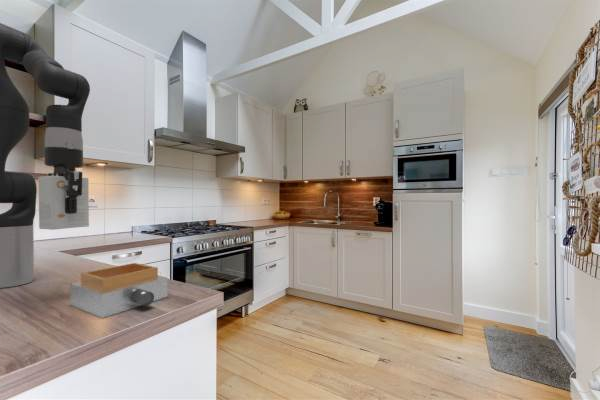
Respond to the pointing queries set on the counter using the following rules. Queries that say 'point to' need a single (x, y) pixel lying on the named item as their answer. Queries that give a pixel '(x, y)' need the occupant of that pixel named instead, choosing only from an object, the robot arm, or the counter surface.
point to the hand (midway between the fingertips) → (64, 212)
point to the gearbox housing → (118, 289)
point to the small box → (61, 204)
